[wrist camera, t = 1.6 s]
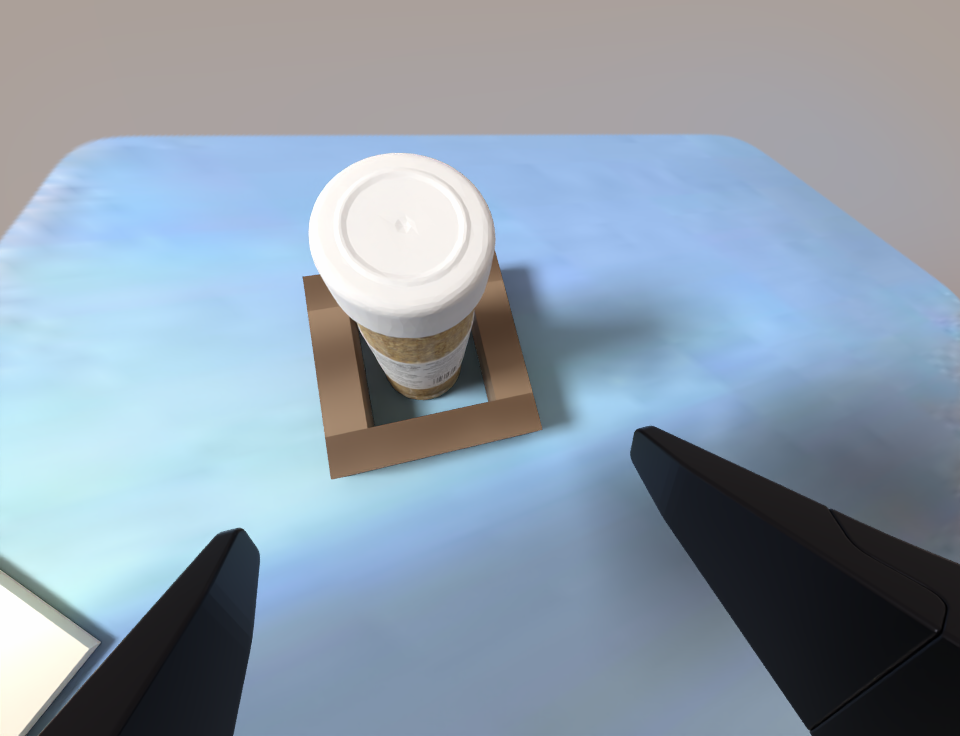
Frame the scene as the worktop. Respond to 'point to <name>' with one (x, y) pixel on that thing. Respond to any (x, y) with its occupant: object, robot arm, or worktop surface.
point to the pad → (34, 656)
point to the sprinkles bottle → (406, 263)
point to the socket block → (390, 444)
